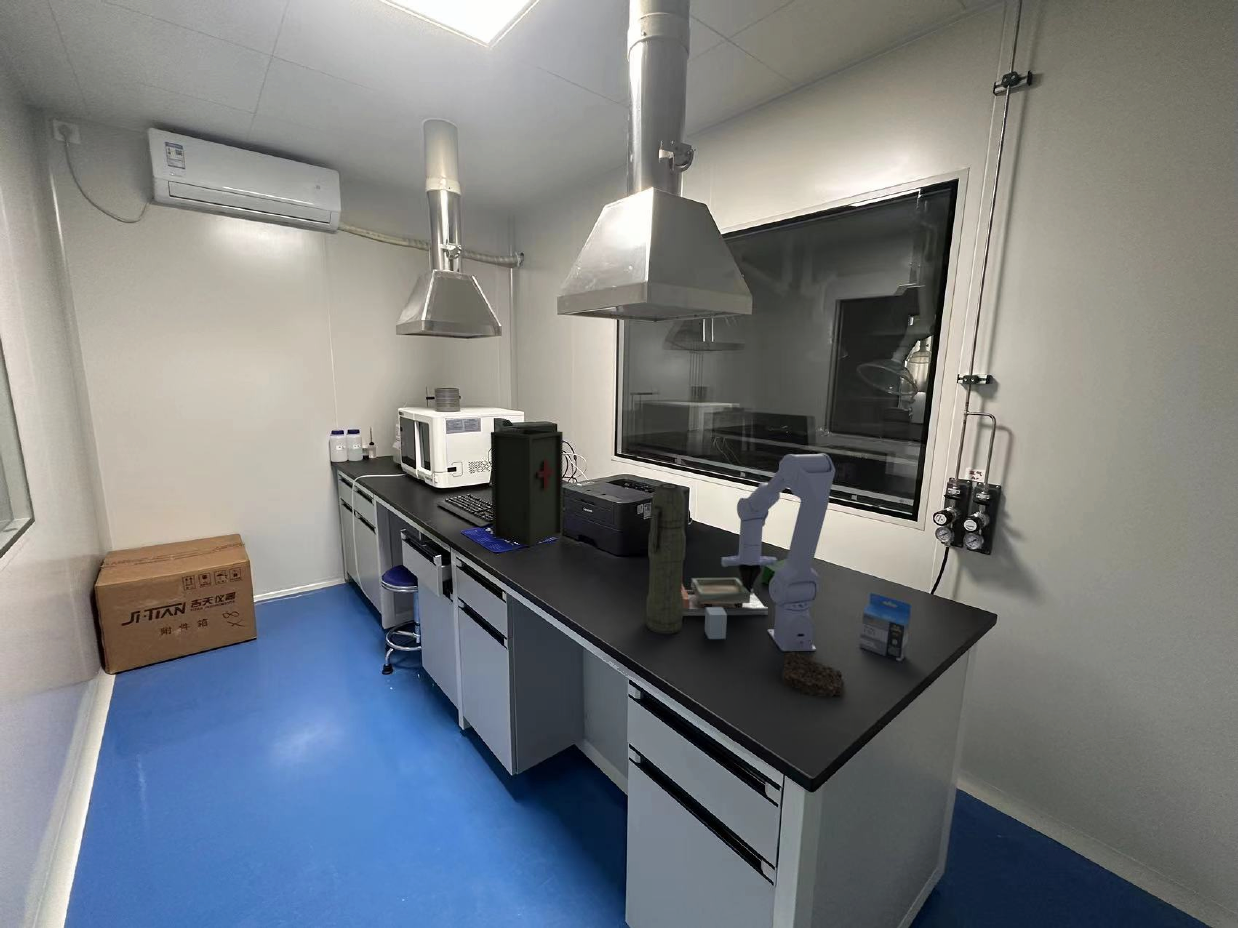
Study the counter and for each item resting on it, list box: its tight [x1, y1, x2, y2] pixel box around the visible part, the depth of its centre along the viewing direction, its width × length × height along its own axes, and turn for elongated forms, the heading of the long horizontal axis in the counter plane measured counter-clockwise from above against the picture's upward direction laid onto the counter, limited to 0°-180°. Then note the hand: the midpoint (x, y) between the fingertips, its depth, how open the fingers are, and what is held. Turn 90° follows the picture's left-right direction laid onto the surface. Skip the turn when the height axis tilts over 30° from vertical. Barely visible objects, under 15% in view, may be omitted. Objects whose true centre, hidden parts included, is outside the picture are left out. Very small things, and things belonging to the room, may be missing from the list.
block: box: [704, 607, 728, 640], centre depth 121 cm, size 4×4×6 cm
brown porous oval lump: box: [781, 651, 845, 698], centre depth 101 cm, size 12×10×5 cm
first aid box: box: [490, 428, 564, 548], centre depth 191 cm, size 18×18×40 cm
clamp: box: [761, 558, 787, 585], centre depth 154 cm, size 12×6×9 cm, turn 122°
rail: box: [681, 583, 769, 617], centre depth 137 cm, size 12×22×4 cm, turn 94°
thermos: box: [645, 483, 687, 635], centre depth 123 cm, size 9×12×35 cm
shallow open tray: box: [690, 577, 750, 607], centre depth 137 cm, size 11×13×4 cm
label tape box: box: [859, 592, 912, 662], centre depth 114 cm, size 9×4×12 cm, turn 45°
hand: (747, 591), depth 137 cm, fingers closed
